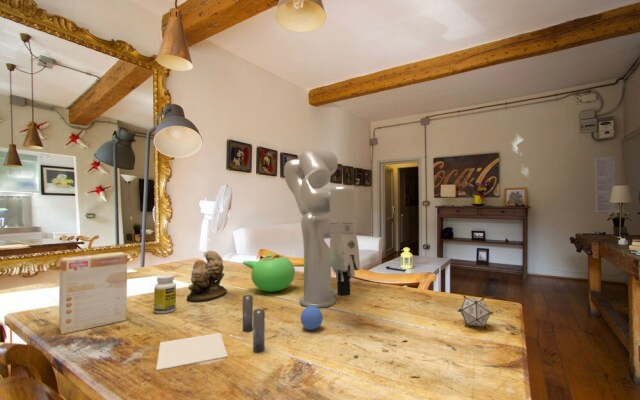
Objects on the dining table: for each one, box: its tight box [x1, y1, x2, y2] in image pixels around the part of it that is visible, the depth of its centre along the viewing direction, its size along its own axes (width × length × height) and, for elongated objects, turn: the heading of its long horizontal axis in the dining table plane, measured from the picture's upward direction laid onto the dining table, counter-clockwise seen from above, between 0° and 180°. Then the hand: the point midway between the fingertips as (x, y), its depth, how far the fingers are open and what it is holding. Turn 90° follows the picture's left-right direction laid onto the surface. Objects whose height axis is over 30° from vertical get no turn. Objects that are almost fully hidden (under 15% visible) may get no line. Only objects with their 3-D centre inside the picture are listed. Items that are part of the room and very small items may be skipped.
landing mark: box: [155, 332, 229, 371], centre depth 72 cm, size 14×14×1 cm
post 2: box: [252, 308, 266, 354], centre depth 72 cm, size 3×3×9 cm
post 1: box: [242, 294, 254, 333], centre depth 84 cm, size 3×3×9 cm
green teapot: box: [242, 252, 296, 293], centre depth 124 cm, size 18×17×15 cm
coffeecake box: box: [58, 251, 128, 335], centre depth 88 cm, size 15×7×20 cm, turn 134°
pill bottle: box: [153, 274, 177, 315], centre depth 99 cm, size 6×6×11 cm
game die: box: [457, 295, 494, 330], centre depth 86 cm, size 9×8×10 cm
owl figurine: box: [186, 250, 227, 304], centre depth 117 cm, size 18×12×17 cm, turn 166°
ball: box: [300, 306, 324, 331], centre depth 84 cm, size 6×6×6 cm
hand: (343, 294), depth 87 cm, fingers closed
